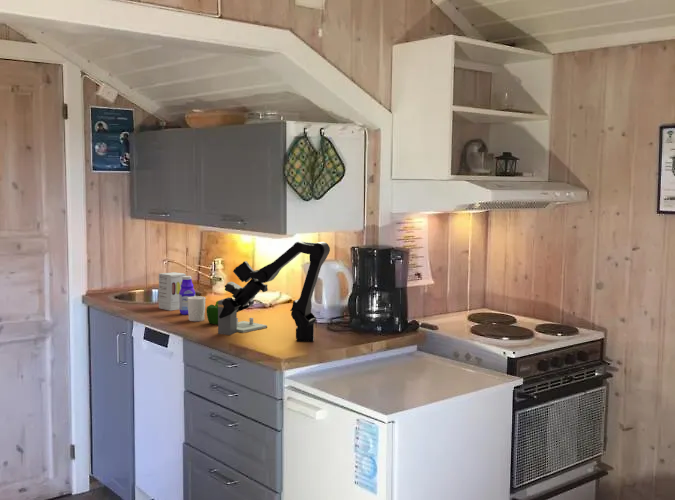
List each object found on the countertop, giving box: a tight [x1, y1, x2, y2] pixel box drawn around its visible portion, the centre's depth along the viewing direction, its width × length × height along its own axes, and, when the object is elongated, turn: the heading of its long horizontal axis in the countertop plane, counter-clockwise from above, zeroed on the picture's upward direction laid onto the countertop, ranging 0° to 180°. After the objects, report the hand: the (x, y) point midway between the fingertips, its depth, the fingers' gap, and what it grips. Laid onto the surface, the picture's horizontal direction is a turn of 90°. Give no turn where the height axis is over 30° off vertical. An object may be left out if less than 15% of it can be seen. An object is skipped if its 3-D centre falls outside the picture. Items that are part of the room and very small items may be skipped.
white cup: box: [187, 295, 206, 322], centre depth 326 cm, size 8×8×10 cm
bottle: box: [178, 275, 196, 315], centre depth 339 cm, size 7×6×17 cm
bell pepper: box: [206, 300, 219, 325], centre depth 319 cm, size 8×8×10 cm
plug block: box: [217, 298, 238, 336], centre depth 300 cm, size 6×6×14 cm
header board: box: [236, 317, 268, 334], centre depth 311 cm, size 14×14×4 cm
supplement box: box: [158, 271, 187, 312], centre depth 353 cm, size 10×9×17 cm
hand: (225, 315), depth 300 cm, fingers open, 9 cm apart
